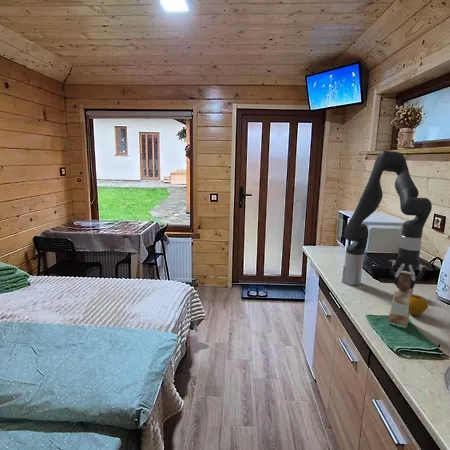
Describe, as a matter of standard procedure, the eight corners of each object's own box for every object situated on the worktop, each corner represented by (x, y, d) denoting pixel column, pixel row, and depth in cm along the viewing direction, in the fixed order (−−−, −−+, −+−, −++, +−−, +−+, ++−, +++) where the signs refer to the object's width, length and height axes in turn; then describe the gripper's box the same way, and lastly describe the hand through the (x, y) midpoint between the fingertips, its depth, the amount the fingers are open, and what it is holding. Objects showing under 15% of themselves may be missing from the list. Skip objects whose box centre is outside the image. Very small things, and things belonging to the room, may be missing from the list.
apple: (425, 321, 140) (429, 302, 138) (402, 315, 144) (405, 296, 142) (426, 313, 147) (429, 294, 145) (403, 307, 152) (406, 289, 150)
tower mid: (391, 313, 136) (392, 302, 135) (391, 307, 141) (393, 297, 140) (407, 317, 133) (409, 305, 132) (407, 311, 138) (409, 300, 137)
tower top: (393, 302, 135) (394, 290, 134) (394, 297, 139) (395, 286, 138) (408, 305, 132) (410, 294, 131) (408, 300, 137) (410, 289, 136)
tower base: (387, 324, 137) (389, 313, 136) (389, 317, 143) (391, 307, 142) (406, 329, 133) (408, 318, 132) (407, 322, 139) (409, 311, 138)
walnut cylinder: (396, 288, 134) (398, 274, 132) (397, 284, 138) (399, 271, 136) (409, 291, 131) (411, 277, 130) (410, 287, 135) (412, 273, 134)
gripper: (388, 246, 131) (383, 285, 135) (430, 252, 124) (423, 294, 128) (390, 242, 137) (385, 280, 141) (430, 247, 130) (423, 287, 134)
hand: (403, 286), depth 134 cm, fingers closed on walnut cylinder, 4 cm apart
